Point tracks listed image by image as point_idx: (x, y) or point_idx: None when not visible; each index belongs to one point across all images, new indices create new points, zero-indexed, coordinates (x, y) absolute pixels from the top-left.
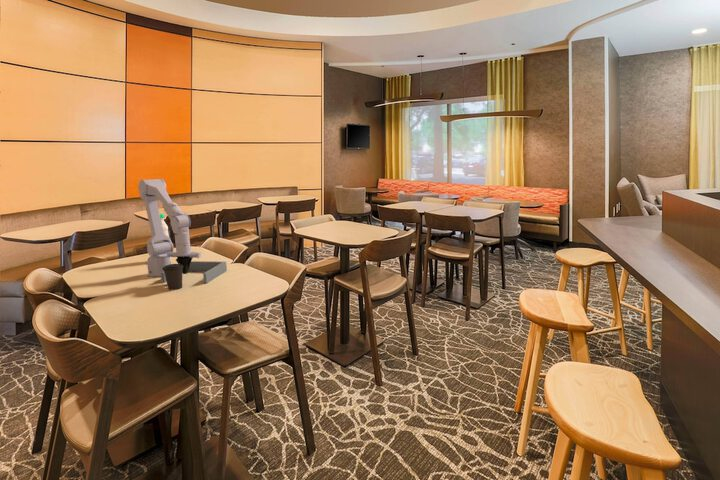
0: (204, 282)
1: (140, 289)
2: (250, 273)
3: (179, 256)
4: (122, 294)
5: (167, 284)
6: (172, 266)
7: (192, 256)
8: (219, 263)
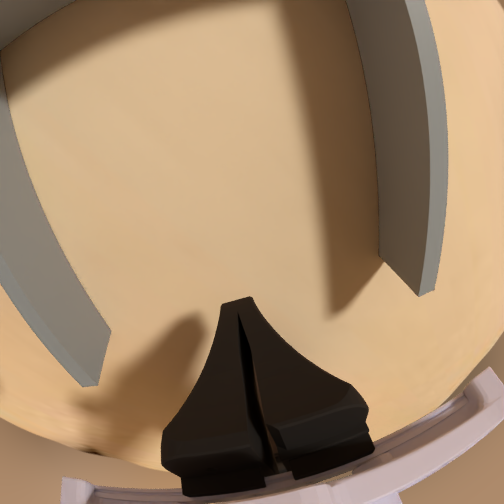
0: (385, 258)
1: (123, 408)
2: (490, 23)
3: (226, 499)
4: (130, 437)
5: None
6: (311, 484)
7: (410, 441)
8: None
